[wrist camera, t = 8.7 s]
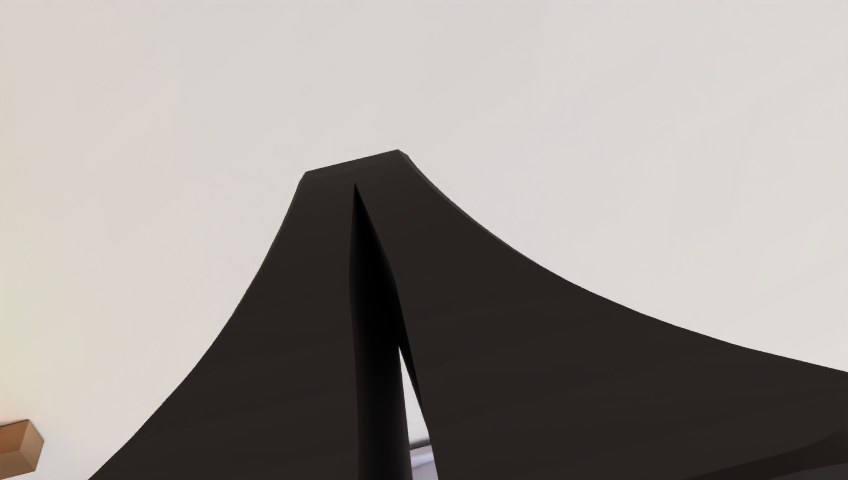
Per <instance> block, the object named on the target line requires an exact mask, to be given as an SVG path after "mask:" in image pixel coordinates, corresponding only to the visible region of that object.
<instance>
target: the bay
mask: <svg viewBox="0 0 848 480" xmlns="http://www.w3.org/2000/svg"><path fill="white" fill-rule="evenodd" d="M43 444H44V440H43V438H42V437H41V435H40V434H39V433H38V431H37V430H36V428H35V427H34V426H33V424H32V423H31V421H30V420H27V421H23V422H19V423H15V424H11V425H7V426H3V427H0V480H2V479H6V478H10V477H14V476H18V475H21V474H25V473H29V472H33V471H35V470H36V467H37V463H38V460H39V457H40V453H41V450H42V447H43Z"/></svg>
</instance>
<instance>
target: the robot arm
mask: <svg viewBox="0 0 848 480" xmlns="http://www.w3.org/2000/svg"><path fill="white" fill-rule="evenodd" d="M399 348H400V351H401V354H402V356H403V359H404V362H405V365H406V368H407V371H408V374H409V377H410V380H411V383H412V386H413V389H414V392H415V394H416V397H417V400H418V403H419V406H420V409H421V412H422V415H423V418H424V421H425V424H426V426H427V429H428V433H429V438H430V442H431V445H429V446H425V447H421V448H417V449H414V450H410V447H409V438H408V428H407V419H406V409H405V400H404V390H403V381H402V372H401V363H400V354H399ZM88 480H848V372H845V371H841V370H837V369H832V368H828V367H824V366H820V365H816V364H812V363H808V362H803V361H799V360H795V359H791V358H787V357H783V356H778V355H774V354H770V353H766V352H762V351H758V350H754V349H749V348H745V347H742V346H738V345H735V344H731V343H728V342H725V341H722V340H719V339H715V338H712V337H709V336H706V335H703V334H700V333H697V332H693V331H690V330H687V329H684V328H681V327H678V326H675V325H672V324H669V323H667V322H664V321H661V320H658V319H656V318H653V317H650V316H647V315H645V314H642V313H639V312H637V311H634V310H632V309H630V308H627V307H625V306H623V305H620V304H618V303H616V302H613V301H611V300H609V299H606V298H604V297H602V296H599V295H597V294H595V293H592V292H590V291H588V290H586V289H584V288H582V287H580V286H578V285H575V284H573V283H571V282H569V281H567V280H565V279H564V278H562V277H560V276H558V275H556V274H555V273H553V272H551V271H549V270H547V269H546V268H544V267H542V266H540V265H539V264H537V263H536V262H534V261H532V260H531V259H529V258H527V257H526V256H524V255H523V254H521V253H520V252H518V251H517V250H515V249H514V248H512V247H511V246H509V245H508V244H506V243H505V242H504V241H502V240H501V239H499V238H498V237H496V236H495V235H494V234H492V233H491V232H489V231H488V230H487V229H485V228H484V227H483V226H482V225H480V224H479V223H478V222H476V221H475V220H474V219H473V218H471V217H470V216H469V215H468V214H467V213H465V212H464V211H463V210H462V209H461V208H459V207H458V206H457V205H456V204H455V203H453V202H452V201H451V200H450V199H449V198H448V197H447V196H445V195H444V194H443V193H442V192H441V191H440V190H439V189H438V188H437V187H436V186H435V185H434V184H433V183H432V182H431V181H430V180H429V179H428V178H427V177H426V176H425V175H424V174H423V173H422V172H421V171H420V170H419V169H418V168H417V167H416V165H415V164H414V163H413V162H412V161H411V159H410V158H409V156H408V155H406V154H405V153H403V152H401V151H400V150H398V149H397V150H393V151H389V152H385V153H381V154H377V155H373V156H369V157H364V158H360V159H356V160H352V161H348V162H344V163H340V164H336V165H331V166H327V167H323V168H319V169H315V170H311V171H307V172H305V174H304V175H303V177H302V178H301V180H300V182H299V184H298V187H297V190H296V192H295V195H294V197H293V200H292V202H291V204H290V207H289V209H288V212H287V214H286V216H285V218H284V220H283V223H282V225H281V227H280V229H279V231H278V233H277V235H276V237H275V239H274V241H273V243H272V245H271V247H270V249H269V251H268V253H267V255H266V257H265V259H264V261H263V263H262V265H261V267H260V269H259V271H258V272H257V274H256V276H255V278H254V279H253V281H252V283H251V284H250V286H249V288H248V289H247V291H246V293H245V294H244V296H243V298H242V299H241V301H240V303H239V304H238V306H237V308H236V309H235V311H234V313H233V314H232V316H231V317H230V319H229V320H228V322H227V323H226V325H225V326H224V328H223V329H222V331H221V332H220V334H219V335H218V337H217V338H216V339H215V341H214V342H213V344H212V345H211V346H210V348H209V349H208V350H207V352H206V353H205V354H204V355H203V357H202V358H201V359H200V361H199V362H198V363H197V365H196V366H195V367H194V368H193V370H192V371H191V372H190V373H189V374H188V376H187V377H186V378H185V379H184V380H183V382H182V383H181V384H180V385H179V386H178V387H177V388H176V389H175V390H174V391H173V393H172V394H171V395H170V396H169V397H168V398H167V399H166V400H165V401H164V402H163V404H162V405H161V406H160V407H159V408H158V409H157V410H156V411H155V412H154V414H153V415H152V416H151V417H150V418H149V419H148V420H147V421H146V422H145V423H144V425H143V426H142V427H141V428H140V429H139V430H138V431H137V432H136V433H135V434H134V436H133V437H132V438H131V439H130V440H129V441H128V442H127V443H126V444H125V445H124V446H123V447H122V448H121V449H120V450H118V451H117V452H116V453H115V454H114V455H113V456H112V457H111V458H110V459H109V460H108V461H107V462H106V463H105V464H104V465H103V466H102V467H101V468H100V469H99V470H98V471H97V472H96V473H95V474H94V475H93V476H92V477H90V478H89V479H88Z"/></svg>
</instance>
